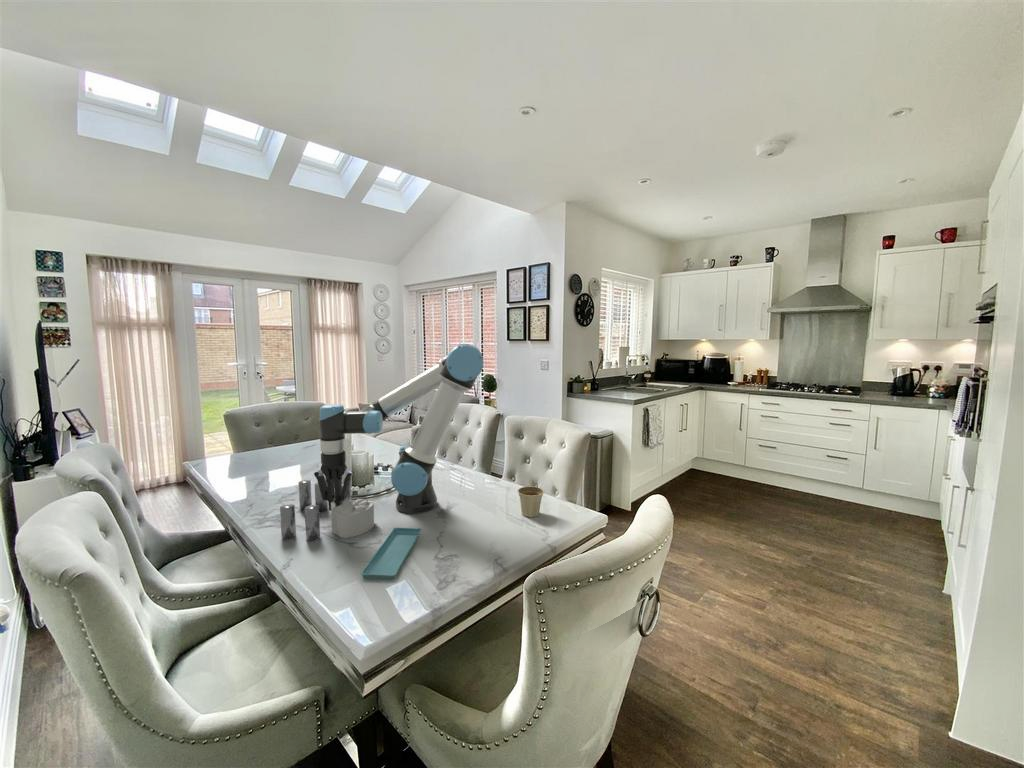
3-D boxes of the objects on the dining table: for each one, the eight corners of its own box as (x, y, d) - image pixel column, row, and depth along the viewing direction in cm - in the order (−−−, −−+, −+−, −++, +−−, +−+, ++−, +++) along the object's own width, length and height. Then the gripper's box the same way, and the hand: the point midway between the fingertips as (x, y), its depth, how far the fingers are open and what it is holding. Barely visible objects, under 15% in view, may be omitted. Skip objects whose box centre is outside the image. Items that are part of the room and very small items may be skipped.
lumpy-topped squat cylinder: (328, 530, 135) (327, 504, 134) (363, 517, 145) (362, 493, 144) (345, 539, 128) (344, 513, 127) (381, 525, 139) (381, 500, 138)
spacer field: (355, 507, 153) (354, 481, 152) (315, 541, 127) (314, 510, 126) (303, 505, 155) (302, 479, 154) (254, 538, 129) (252, 507, 128)
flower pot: (549, 513, 148) (549, 490, 148) (532, 522, 142) (532, 497, 141) (529, 506, 155) (529, 484, 154) (512, 514, 148) (512, 490, 147)
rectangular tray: (395, 582, 106) (394, 573, 106) (360, 581, 107) (359, 572, 107) (422, 535, 132) (422, 528, 132) (394, 534, 133) (394, 527, 133)
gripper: (357, 449, 140) (359, 516, 143) (320, 447, 141) (323, 514, 144) (346, 454, 133) (349, 525, 135) (307, 453, 134) (311, 523, 136)
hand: (335, 519), depth 139 cm, fingers closed
